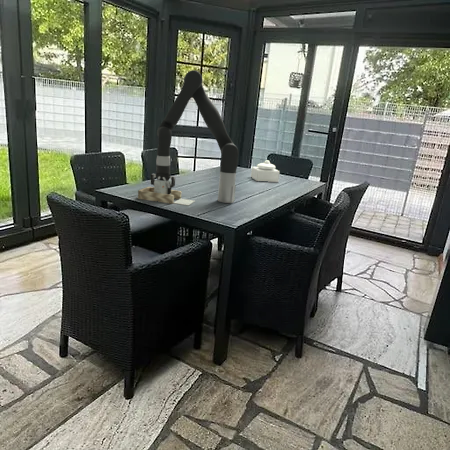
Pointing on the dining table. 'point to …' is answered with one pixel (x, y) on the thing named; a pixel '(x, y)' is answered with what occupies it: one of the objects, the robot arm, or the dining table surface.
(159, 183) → the small box
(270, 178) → the butter dish
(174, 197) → the beige piece
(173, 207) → the dining table surface
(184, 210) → the dining table surface
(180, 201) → the mat
